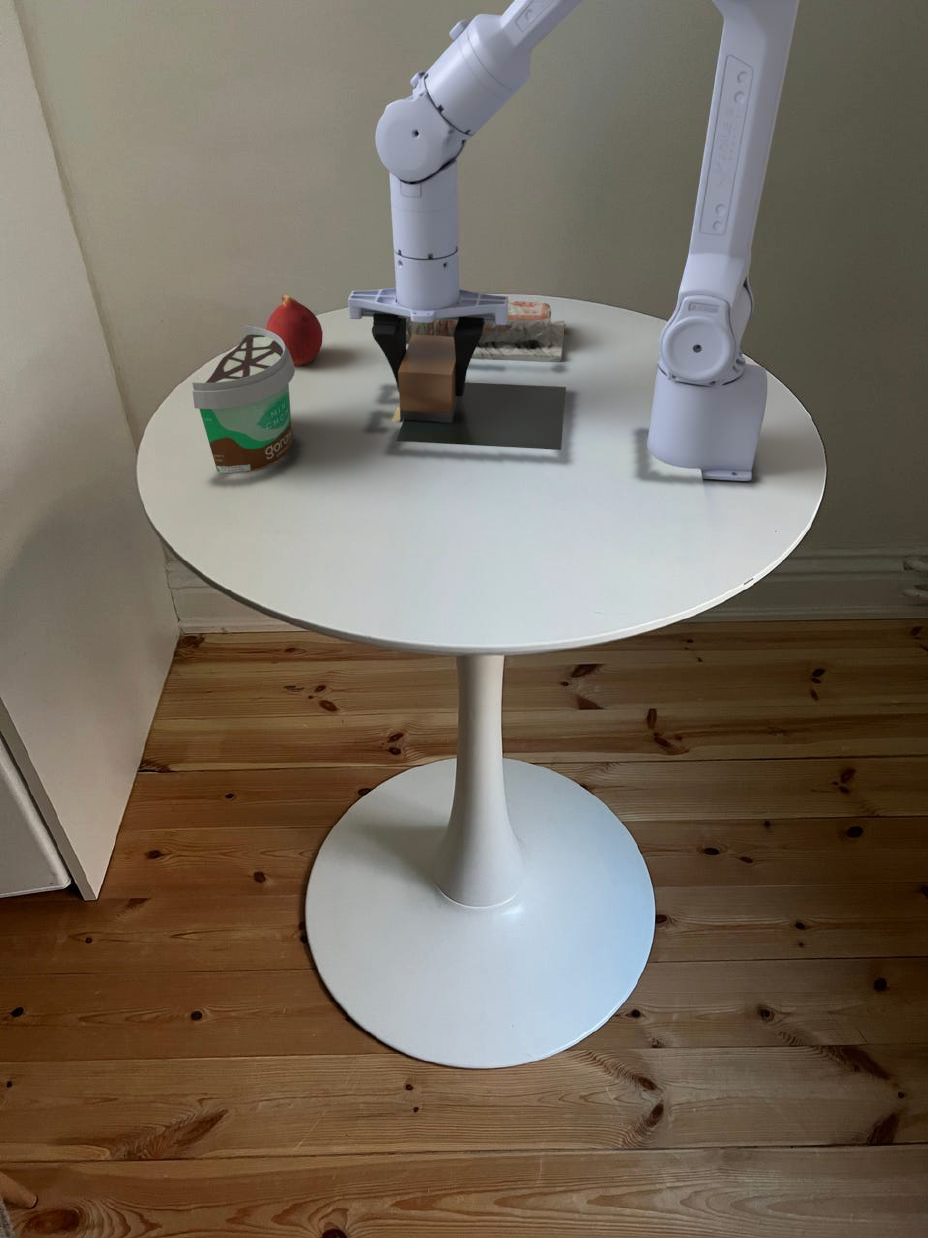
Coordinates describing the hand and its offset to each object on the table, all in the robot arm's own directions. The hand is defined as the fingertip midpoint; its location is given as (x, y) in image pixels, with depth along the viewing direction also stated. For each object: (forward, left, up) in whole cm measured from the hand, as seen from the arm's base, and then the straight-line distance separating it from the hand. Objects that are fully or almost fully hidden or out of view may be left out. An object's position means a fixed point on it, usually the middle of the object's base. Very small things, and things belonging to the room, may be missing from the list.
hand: (431, 390), depth 90 cm
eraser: (0, 0, -1) cm, 1 cm away
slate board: (-5, +2, -2) cm, 6 cm away
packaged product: (-3, -15, -2) cm, 16 cm away
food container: (+14, +10, -2) cm, 17 cm away
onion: (+16, -8, -2) cm, 18 cm away
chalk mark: (+4, +3, -2) cm, 5 cm away
